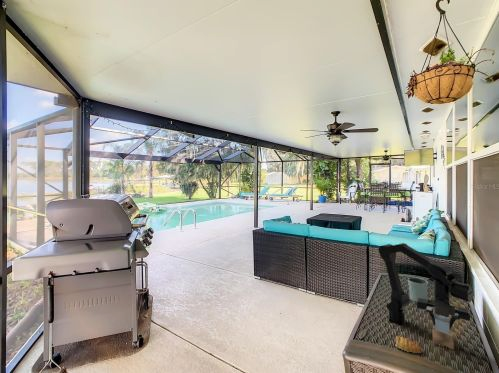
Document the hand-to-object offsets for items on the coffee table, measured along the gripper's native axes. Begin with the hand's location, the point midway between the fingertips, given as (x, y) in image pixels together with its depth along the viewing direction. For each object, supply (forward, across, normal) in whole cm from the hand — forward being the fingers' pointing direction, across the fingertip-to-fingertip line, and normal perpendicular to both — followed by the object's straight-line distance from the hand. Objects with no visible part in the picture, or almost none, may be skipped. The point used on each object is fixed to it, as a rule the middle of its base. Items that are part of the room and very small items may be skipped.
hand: (442, 327), depth 111 cm
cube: (+1, 0, 0) cm, 1 cm away
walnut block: (+7, 0, 0) cm, 7 cm away
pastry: (+7, -12, -14) cm, 20 cm away
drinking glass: (+7, -12, +42) cm, 44 cm away
